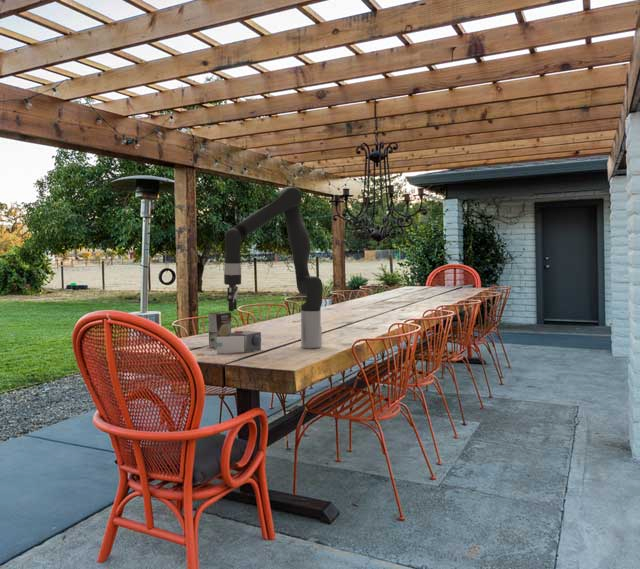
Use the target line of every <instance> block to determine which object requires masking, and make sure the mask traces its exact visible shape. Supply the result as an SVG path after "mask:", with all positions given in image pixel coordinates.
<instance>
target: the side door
mask: <svg viewBox="0 0 640 569" xmlns="http://www.w3.org/2000/svg"><path fill="white" fill-rule="evenodd" d="M244 345H245V352H244ZM216 347H217V348H216V353H217V354H224V353H225V354H227V353H235V354H236V353H248V352H247V336H236V337H217V343H216Z"/></svg>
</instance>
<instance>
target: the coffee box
mask: <svg viewBox="0 0 640 569" xmlns="http://www.w3.org/2000/svg"><path fill="white" fill-rule="evenodd" d="M230 333H232V312H230V311H227V312H226V311H225V312H224V311H222V312H211V313H210V312H209V313H208V347H209V348H215V349H217V347H216V343H217V337H230Z"/></svg>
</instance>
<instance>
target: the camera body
mask: <svg viewBox="0 0 640 569" xmlns="http://www.w3.org/2000/svg"><path fill="white" fill-rule="evenodd" d="M261 334H262V332H261V331H252V330H235V331H234V330H233V332H231V333H230V337H236V336H247V352H245V345H244V352H243V353H250V352H249V351H251V352H254V351H253V350H256V351H259V350H258V349H260V350H262V335H261Z"/></svg>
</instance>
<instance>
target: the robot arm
mask: <svg viewBox="0 0 640 569" xmlns="http://www.w3.org/2000/svg"><path fill="white" fill-rule="evenodd" d="M302 194H303V193H302V191H301V190H300V189H299V188H298V187H295V186H285V187H283V188H282V189H281V190H280V192H279V196H278V197H277V198H276V199H274V200H273V201H272V202H270V203H269V204H267V205H266V206H263V207H261V208H260V209H257V210H256V211H255V212H253V213H251V214H249V216H247V217H245V218H244V219H243V220H241V221H240V223H238V224H236V225H235V226H233V227H232V228H229V229H227V231H226V232H225V233H224V244H225V245H224V247H225V252H224V267H223V269H224V270H223V273H224V274H223V284H224V285H225V286H226V285H227V286H228V287H227V288H226V289H227V292H226V293H227V294H226V295H227V296H226V297H227V299H226V301H227V303H228V312H234V311H236V310H237V304H238V302H237V301H238V299H239V297H238V296H239V295H238V294H239V293H238V291H239V289H238V288H239V287H238V286H239V285H242V259H241V258H242V255H241V254H242V253H241V246H242V240H244V239H245V238H247V236H249V235H251V234H253V233H255V232H256V231H257V230H259V229H260V228H261V227H263V226H265V225H266V224H268V223H270V221H271V220H273V219H274V218H276V217H278V216H279V215H280V214H283V215H284V219H285V223H286V224H285V225H286V229H287V230H286V231H287V236H288V242H289V247H290V251H291V255H292V260H293V266H294V272H295V281H296V288H297V290H298V293H299V294H301V295H302V296H306V300H305V302H303V303H302V304H301V305H300V339H301V340H300V346H301V348H302V349H319V348H321V347H322V346H323V343H322V340H323V339H322V333H323V332H322V329H323V328H322V326H321V315H322V314H321V308H322V304H323V292H324V291H323V289H324V288H323V282H322V279H321V278H320V277H318V276H313V275H310V271H309V265H308V263H309V258H310V254H311V249H312V248H311V241H310V236H309V233H308V230H307V228H306V225H305V222H304V220H303V218H302V215H301V211H300V204H301V202H302V199H303V195H302Z"/></svg>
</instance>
